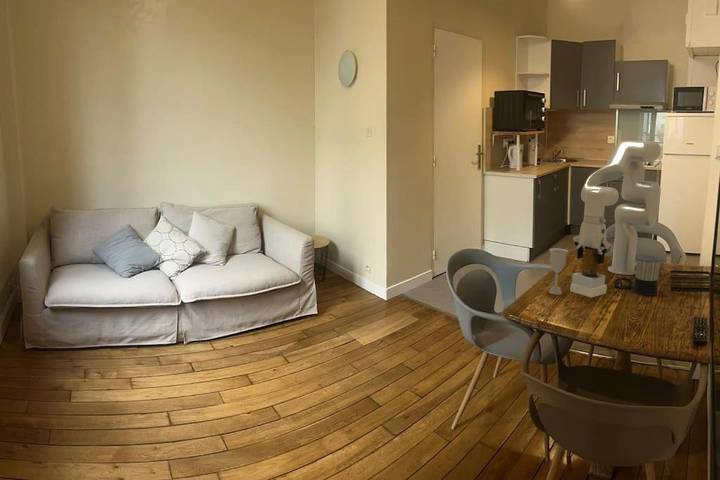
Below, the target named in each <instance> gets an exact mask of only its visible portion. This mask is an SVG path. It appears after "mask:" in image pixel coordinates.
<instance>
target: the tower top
mask: <svg viewBox="0 0 720 480" xmlns="http://www.w3.org/2000/svg"><path fill="white" fill-rule="evenodd" d="M578 273H582V272H581V271H579V272H576V273H572V277H571V279H572V280H571V283H573V284H576V285H579V286H583V287H586V288H590V289H592V288H595V287H599V286H603V285H604V284H605V285H606V283H605V282H606V275H605V276H602V277H599V278H592V277H588V276H582V275H579V274H578ZM597 276H598V275H597Z"/></svg>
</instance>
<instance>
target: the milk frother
mask: <svg viewBox="0 0 720 480" xmlns="http://www.w3.org/2000/svg"><path fill="white" fill-rule="evenodd" d="M636 261H637V266H635V267H636V268H635V269H636V274H635V277H634V281H633V280H632V279H631V278H628V277H626V276H622V277H621V276H620V277H618V278H616V279H614V281H613V285H614V287H617V288H618V289H624V290H625V289H626V290H627V289H630V288H632V286H633V289H632V291H633V293H635V294H638V295H641V296H657V294H658V285H659V284H658V283H659V276H660V268H661V267H660V266H661V261H662V258H661V257H658V256H655V255H648V254H642V255H637V256H636ZM623 281H626V282H628V283H629V284H628V285H623Z"/></svg>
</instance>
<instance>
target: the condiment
mask: <svg viewBox="0 0 720 480" xmlns="http://www.w3.org/2000/svg"><path fill="white" fill-rule="evenodd" d="M598 254H599V252H598V250H597V249H594V248H591V247H587V246H584V252H583V257H582V258H581V259H582V260H581V261H582V262H581V271H580V272H582V273H579V272H577V273H578V274H579V275H582V276H588V277H592V278H599V277H602V276H605V277H606V275H605V274H601V273H598V267H599V266H598V265H599V264H598V263H597V261H598ZM597 275H598V276H597Z"/></svg>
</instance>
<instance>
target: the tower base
mask: <svg viewBox="0 0 720 480" xmlns="http://www.w3.org/2000/svg"><path fill="white" fill-rule="evenodd" d="M569 288H570V292H572V293H573V294H574V293H575V294H577V295H581V296H585V297H588V298H595V297H598V296H601V295H605V294H607V288H608V285H607V284H606V283H605V284H604V285H603V286H599V287H595V288H592V289H590V288H586V287H583V286H579V285H576V284H573V283H572V282H571V283H570V287H569Z"/></svg>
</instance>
